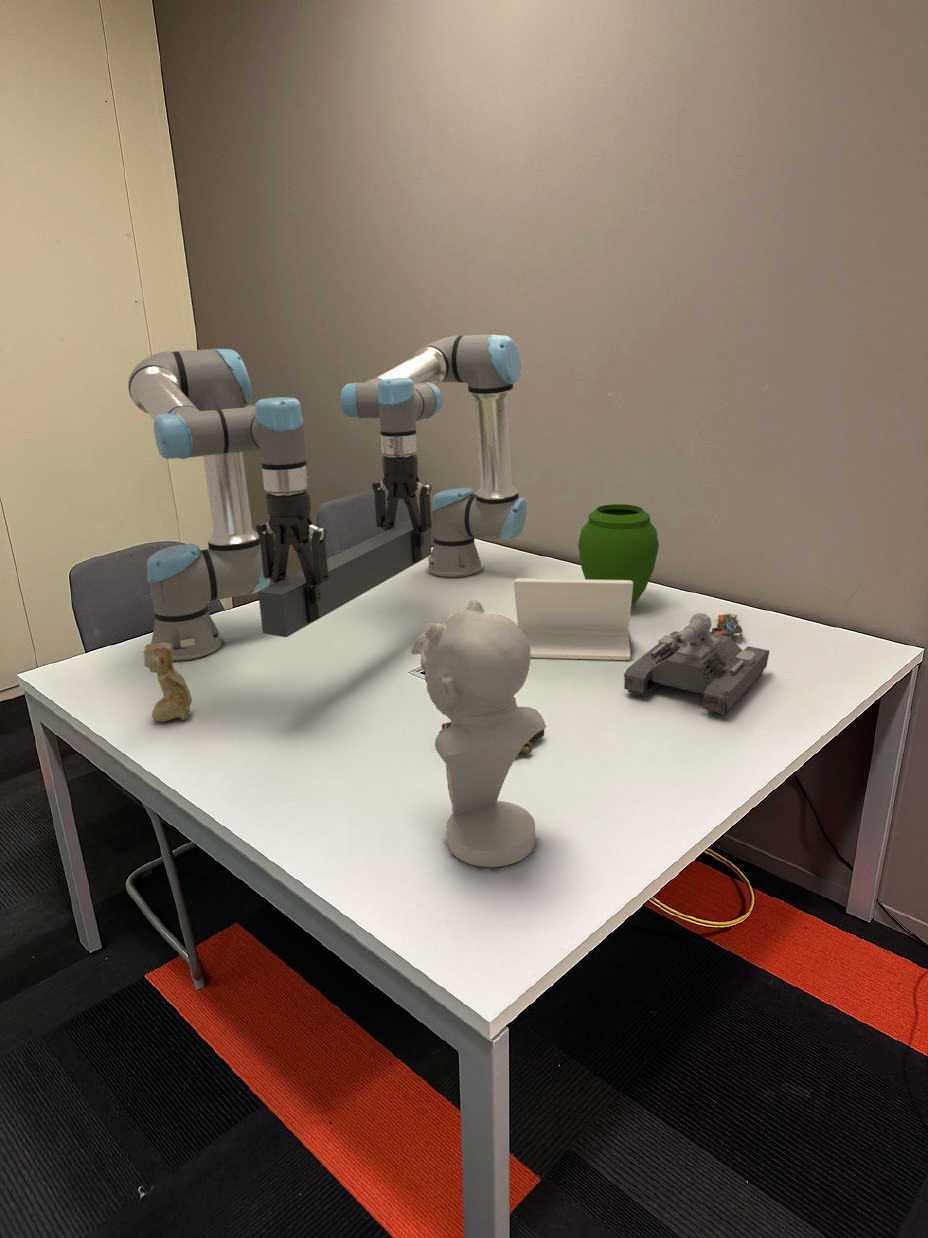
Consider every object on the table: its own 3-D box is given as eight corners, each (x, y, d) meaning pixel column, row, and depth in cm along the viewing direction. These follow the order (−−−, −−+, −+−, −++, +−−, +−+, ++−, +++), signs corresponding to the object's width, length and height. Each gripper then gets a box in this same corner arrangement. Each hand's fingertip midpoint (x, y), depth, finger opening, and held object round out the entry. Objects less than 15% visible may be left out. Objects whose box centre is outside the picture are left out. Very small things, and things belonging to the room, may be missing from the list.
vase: (599, 587, 227) (601, 497, 218) (668, 600, 216) (673, 505, 208) (562, 608, 212) (564, 513, 204) (634, 623, 202) (639, 523, 193)
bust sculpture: (481, 772, 140) (476, 569, 128) (565, 848, 120) (569, 617, 108) (392, 800, 134) (378, 588, 121) (465, 886, 114) (457, 642, 101)
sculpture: (157, 712, 165) (145, 640, 159) (195, 709, 165) (184, 637, 160) (150, 726, 159) (137, 652, 154) (190, 723, 160) (178, 649, 155)
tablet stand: (630, 660, 182) (634, 584, 176) (513, 656, 185) (513, 582, 179) (627, 629, 198) (630, 558, 192) (519, 626, 202) (519, 557, 196)
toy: (673, 652, 185) (678, 587, 179) (767, 672, 174) (774, 603, 168) (622, 696, 165) (625, 624, 160) (724, 722, 154) (730, 645, 149)
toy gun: (699, 636, 186) (746, 633, 184) (693, 612, 204) (736, 609, 202) (699, 648, 187) (747, 645, 185) (693, 623, 205) (737, 620, 203)
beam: (286, 637, 147) (281, 594, 145) (262, 633, 149) (257, 591, 147) (431, 554, 194) (430, 521, 191) (412, 552, 196) (410, 519, 193)
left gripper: (343, 489, 146) (353, 617, 154) (258, 483, 153) (272, 605, 161) (318, 499, 140) (330, 631, 148) (230, 492, 147) (246, 618, 155)
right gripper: (353, 455, 181) (361, 560, 189) (429, 459, 173) (433, 569, 181) (372, 449, 187) (379, 551, 195) (446, 453, 179) (450, 559, 188)
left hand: (300, 617), depth 155 cm, fingers closed on beam, 5 cm apart
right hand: (405, 559), depth 188 cm, fingers closed on beam, 5 cm apart
